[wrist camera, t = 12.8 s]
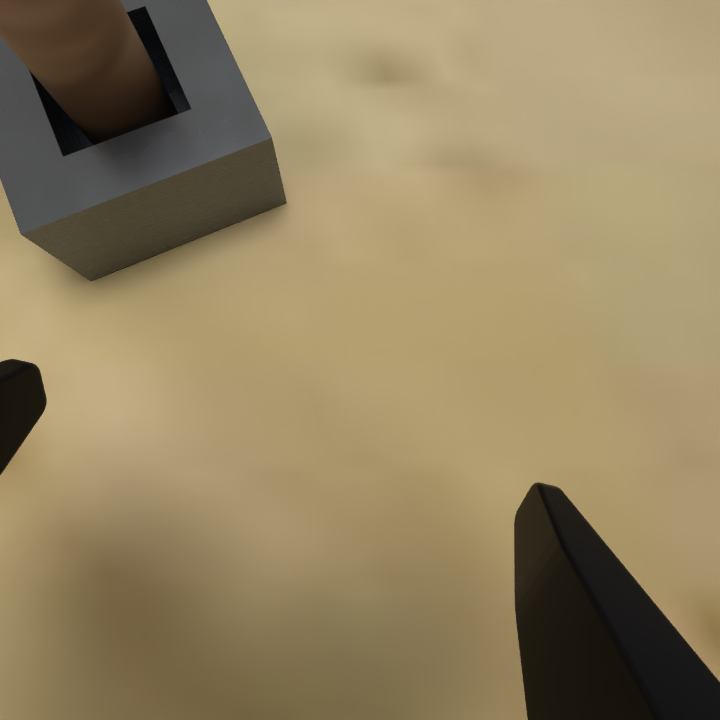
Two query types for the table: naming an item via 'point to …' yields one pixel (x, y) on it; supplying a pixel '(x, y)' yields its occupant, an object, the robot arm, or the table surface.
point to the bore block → (139, 152)
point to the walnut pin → (88, 63)
